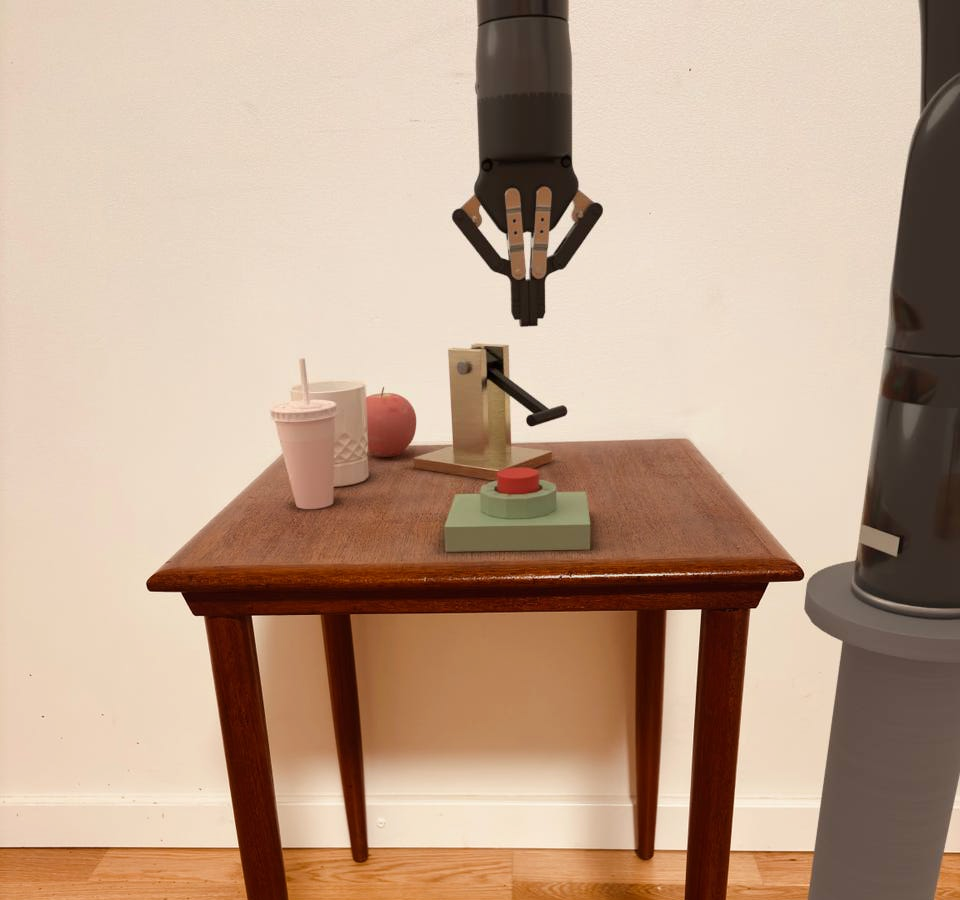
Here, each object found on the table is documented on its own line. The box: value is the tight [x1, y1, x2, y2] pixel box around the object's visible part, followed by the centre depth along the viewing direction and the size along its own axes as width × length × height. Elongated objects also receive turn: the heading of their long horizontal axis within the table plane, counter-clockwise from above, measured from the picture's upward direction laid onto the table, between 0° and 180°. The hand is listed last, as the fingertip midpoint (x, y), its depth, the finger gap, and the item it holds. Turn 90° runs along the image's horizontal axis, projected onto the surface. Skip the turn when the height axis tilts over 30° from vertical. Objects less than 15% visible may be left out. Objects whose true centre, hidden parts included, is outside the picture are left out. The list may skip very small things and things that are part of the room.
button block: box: [443, 479, 591, 553], centre depth 80 cm, size 12×10×4 cm
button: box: [497, 468, 540, 495], centre depth 79 cm, size 4×4×2 cm
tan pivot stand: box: [412, 342, 553, 482], centre depth 101 cm, size 12×10×13 cm
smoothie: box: [269, 357, 338, 510], centre depth 89 cm, size 6×6×14 cm
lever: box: [469, 347, 568, 428], centre depth 98 cm, size 12×6×2 cm, turn 52°
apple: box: [366, 386, 417, 458], centre depth 108 cm, size 7×7×8 cm
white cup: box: [289, 379, 370, 488], centre depth 98 cm, size 8×8×10 cm
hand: (528, 325), depth 79 cm, fingers closed
